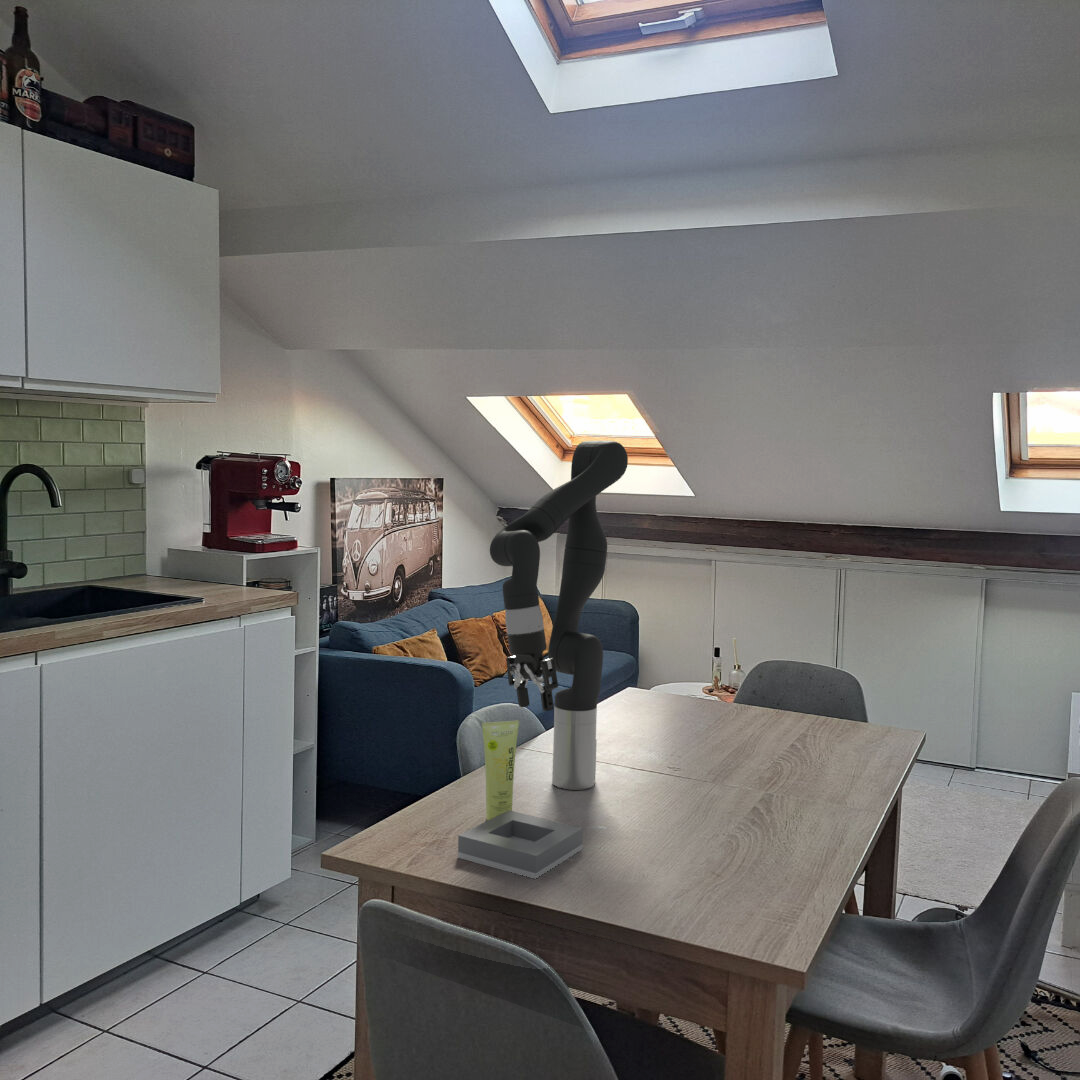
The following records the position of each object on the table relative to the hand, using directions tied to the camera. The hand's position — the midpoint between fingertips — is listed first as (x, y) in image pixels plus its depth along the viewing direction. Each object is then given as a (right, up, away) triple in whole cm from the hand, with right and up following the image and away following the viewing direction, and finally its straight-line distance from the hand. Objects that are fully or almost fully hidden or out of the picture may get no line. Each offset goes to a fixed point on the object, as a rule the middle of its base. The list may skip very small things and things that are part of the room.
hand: (536, 708), depth 202 cm
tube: (-7, -21, -7) cm, 23 cm away
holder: (-3, -22, -24) cm, 33 cm away
